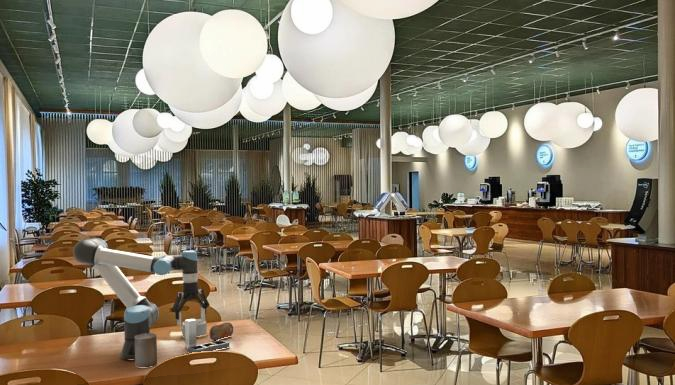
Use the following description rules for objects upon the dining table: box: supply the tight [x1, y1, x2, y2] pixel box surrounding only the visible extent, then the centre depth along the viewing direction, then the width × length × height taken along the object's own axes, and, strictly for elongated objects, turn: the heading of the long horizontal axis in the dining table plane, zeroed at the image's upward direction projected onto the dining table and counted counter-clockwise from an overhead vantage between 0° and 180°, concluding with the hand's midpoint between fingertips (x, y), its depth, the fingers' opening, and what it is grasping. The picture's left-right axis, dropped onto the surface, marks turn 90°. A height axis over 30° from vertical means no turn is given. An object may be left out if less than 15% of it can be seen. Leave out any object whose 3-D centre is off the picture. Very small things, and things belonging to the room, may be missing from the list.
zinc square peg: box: [184, 318, 197, 347], centre depth 297 cm, size 4×4×14 cm
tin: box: [208, 322, 234, 341], centre depth 314 cm, size 15×3×8 cm, turn 143°
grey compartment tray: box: [187, 340, 230, 353], centre depth 291 cm, size 19×7×3 cm, turn 134°
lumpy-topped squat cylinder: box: [181, 318, 208, 337], centre depth 322 cm, size 10×13×9 cm
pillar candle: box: [134, 332, 158, 368], centre depth 268 cm, size 10×10×15 cm
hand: (191, 323), depth 297 cm, fingers open, 13 cm apart
